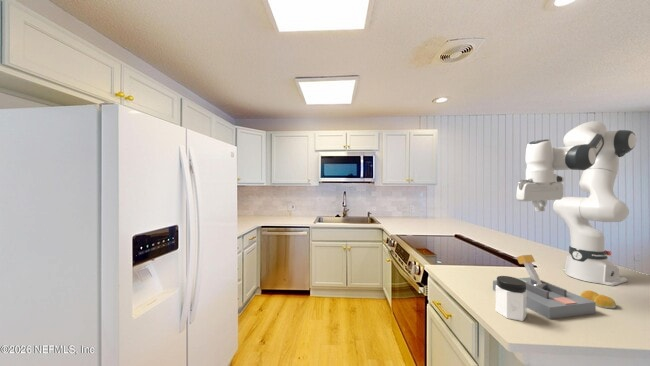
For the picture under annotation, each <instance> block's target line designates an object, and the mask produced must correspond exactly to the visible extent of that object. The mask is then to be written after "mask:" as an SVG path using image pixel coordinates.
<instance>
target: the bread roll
mask: <svg viewBox="0 0 650 366" xmlns="http://www.w3.org/2000/svg"><path fill="white" fill-rule="evenodd" d="M578 296H581V297H584V298H586V299H589V300H591V301H594V302H596V307H598V308H601V309H602V308H603V309H611V310H613V309H615V308H616V306H617V303H616V301H615V300H614V299H613V298H611V297H610V296H607V295H605V294H599V293H598V292H595V291H593V290H584V291H582V292H580V293H579V294H578Z"/></svg>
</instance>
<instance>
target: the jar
mask: <svg viewBox="0 0 650 366" xmlns="http://www.w3.org/2000/svg"><path fill="white" fill-rule="evenodd" d="M517 278H518V277H514V276H510V275H509V276H508V275H498V276H496V280H497V285H496V291H495V312H496V313H498V314H500V315H501V316H502V317H504V318H505V319H508V320H514V321H520V322H524V320H525V319H526V317H527V312H528V311H527V309H528V308H527V290H526V283H525V282H524V281H522V280H520V279H517Z"/></svg>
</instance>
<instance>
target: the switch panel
mask: <svg viewBox="0 0 650 366" xmlns="http://www.w3.org/2000/svg"><path fill="white" fill-rule="evenodd" d="M516 278H517V279H520V280H522V281H524V282H525V283H526V290H527V309H529V310H531V311H534V312H535V313H537V314H538V315H541V316H543V317H545V318H546V319H548V320H553V319H562V318H563V319H564V318H568V317H577V316H584V315H585V316H586V315H593V314H596V312H597V311H596V307H597V306H596V302H594V301H591V300H589V299H586V298H584V297H581V296H579V294H576V293H573V292H570V291H568V290H567V289H565V288H563V287H560V286H557V285H554V284H553V283H550V282H547V281H544V280H543V279H542V280H541V279H540V281H541V282H542V283H545V284H546V285H547V286H548V289H547V290H543V289H541V288H539V287H536V286H534V285H532V284H533V282H532V280H531V278H530V276H529V277H519V278H518V277H516ZM496 285H497V279H496V280H492V291H494V292H496Z"/></svg>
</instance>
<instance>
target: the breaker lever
mask: <svg viewBox="0 0 650 366" xmlns="http://www.w3.org/2000/svg"><path fill="white" fill-rule="evenodd" d="M516 260H517V262H518V264H519V265H524V267H525V270H526V272H527V274H528V275H529V277H530V278H531V280H532V282H533V284H532V285H534V286H536V287H539V288H541V289H543V290H547V289H548V286H547V285H546V284H545V283H542V282H541V281H540V280H541V279H540V276H539V274H538V273H537V270H536V269H535V267H534V265H533V263H535V262H536V260H535V259H534V256H533V255H532V254H524V255H519V256H516Z"/></svg>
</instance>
